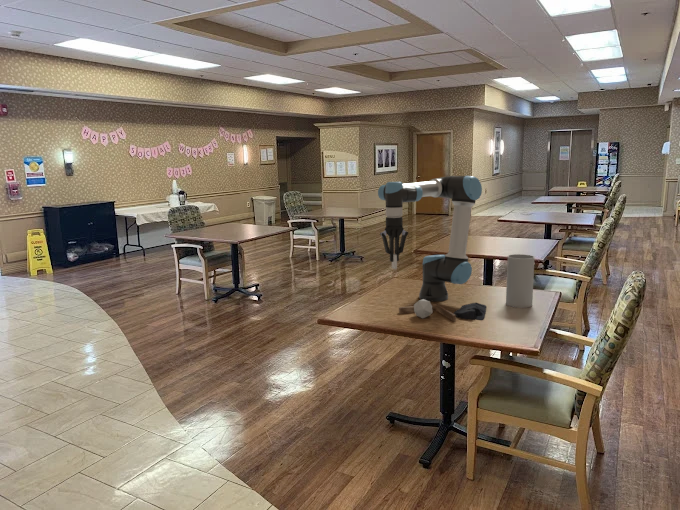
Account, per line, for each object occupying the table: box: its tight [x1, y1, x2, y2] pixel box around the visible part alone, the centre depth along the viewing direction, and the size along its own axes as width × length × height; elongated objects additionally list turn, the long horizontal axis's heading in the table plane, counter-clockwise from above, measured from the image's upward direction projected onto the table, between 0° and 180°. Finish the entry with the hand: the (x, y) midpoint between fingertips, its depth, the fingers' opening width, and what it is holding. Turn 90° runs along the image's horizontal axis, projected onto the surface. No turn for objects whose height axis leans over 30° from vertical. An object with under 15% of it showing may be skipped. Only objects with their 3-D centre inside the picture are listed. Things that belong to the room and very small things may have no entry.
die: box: [413, 299, 433, 319], centre depth 243 cm, size 8×9×10 cm
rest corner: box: [398, 303, 457, 322], centre depth 243 cm, size 20×20×3 cm
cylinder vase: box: [505, 253, 535, 309], centre depth 258 cm, size 12×12×25 cm
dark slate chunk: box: [452, 302, 487, 321], centre depth 248 cm, size 15×22×5 cm
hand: (394, 268), depth 236 cm, fingers closed
